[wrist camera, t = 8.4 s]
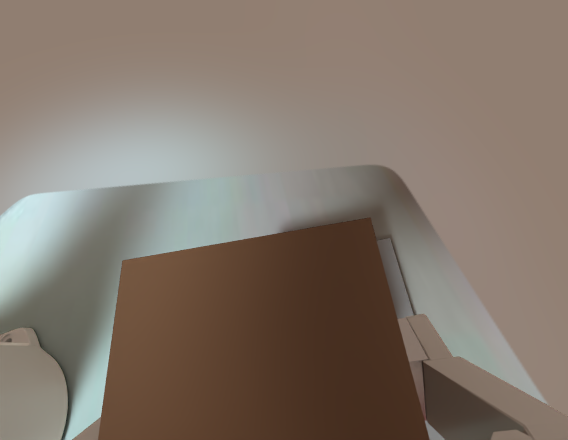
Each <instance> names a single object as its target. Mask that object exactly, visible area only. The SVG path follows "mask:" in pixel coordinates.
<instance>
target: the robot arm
mask: <svg viewBox="0 0 568 440" xmlns="http://www.w3.org/2000/svg"><path fill="white" fill-rule="evenodd" d="M397 319H398V323H399V326H400V330H401V334H402V338H403V341H404V345H405V349H406V353H407V356H408V360H409V364H410V367H411V371H412V375H413V379H414V382H415V386H416V390H417V394H418V397H419V401H420V405H421V409H422V412H423V416H424V420H425V421H427V422H428V423H429V424H430V425H431V426H432V427H433V428H434V429H435V430H436V431H437V432H438V433H439V434H440V435H441V436H442V437H443V438H444V439H445V440H568V416H567V415H565V414H563V413H561V412H559V411H558V410H556V409H554V408H552V407H550V406H548V405H547V404H545V403H543V402H541V401H539V400H538V399H536V398H534V397H532V396H530V395H528V394H527V393H525V392H523V391H521V390H519V389H518V388H516V387H514V386H512V385H510V384H509V383H507V382H505V381H503V380H501V379H499V378H498V377H496V376H494V375H492V374H490V373H489V372H487V371H485V370H483V369H481V368H479V367H478V366H476V365H474V364H472V363H470V362H469V361H467V360H465V359H463V358H461V357H453V356H452V354H451V353H450V351H449V350H448V348H447V347H446V345H445V344H444V342H443V341H442V339H441V337H440V336H439V334H438V333H437V331H436V330H435V328H434V327H433V325H432V324H431V322H430V321H429V319H428V317H427V316H426V315H424V314H419V315H413V316H407V317H405V318H397ZM67 408H68V393H67V385H66V381H65V377H64V374H63V372H62V370H61V368H60V366H59V365H58V363H57V362H56V361H55V359H54V358H53V357H51V356H50V355H49V354H48V353H46V352H45V351H44V350H43V349H42V348H41V347H40V344H39V341H38V338H37V336H36V333H35V332H34V330H33V329H32V328H17V329H14V330H12V331H9V332H6V333H4V334H1V335H0V440H61V438H62V435H63V431H64V427H65V423H66V417H67ZM100 421H101V417H100V418H99V419H98V420H96V421H95V422H94V423H93V424H91V425H90V426H89V427H88V428H86V429H85V430H84V431H83V432H81V433H80V434H79V435H77V436H76V437H75V438H74V439H72V440H98V436H99V428H100Z"/></svg>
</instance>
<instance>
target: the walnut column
mask: <svg viewBox="0 0 568 440" xmlns="http://www.w3.org/2000/svg"><path fill="white" fill-rule="evenodd" d="M98 440H430V439H429V435H428V431H427V427H426V424H425V420H424V416H423V412H422V409H421V405H420V401H419V397H418V394H417V390H416V386H415V382H414V379H413V375H412V371H411V367H410V364H409V360H408V356H407V353H406V349H405V345H404V341H403V338H402V334H401V330H400V326H399V323H398V319H397V315H396V311H395V308H394V304H393V300H392V296H391V293H390V289H389V285H388V281H387V278H386V274H385V270H384V266H383V263H382V259H381V255H380V251H379V248H378V244H377V240H376V237H375V233H374V229H373V225H372V222H371V218H364V219H359V220H353V221H347V222H341V223H336V224H330V225H324V226H318V227H313V228H307V229H301V230H295V231H290V232H284V233H278V234H272V235H267V236H261V237H255V238H249V239H244V240H238V241H232V242H226V243H221V244H215V245H209V246H203V247H198V248H192V249H186V250H180V251H175V252H169V253H163V254H157V255H152V256H146V257H140V258H134V259H129V260H123V261H122V268H121V275H120V283H119V290H118V297H117V304H116V312H115V319H114V326H113V334H112V341H111V348H110V355H109V363H108V370H107V377H106V385H105V392H104V399H103V406H102V414H101V421H100V428H99V436H98Z"/></svg>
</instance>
